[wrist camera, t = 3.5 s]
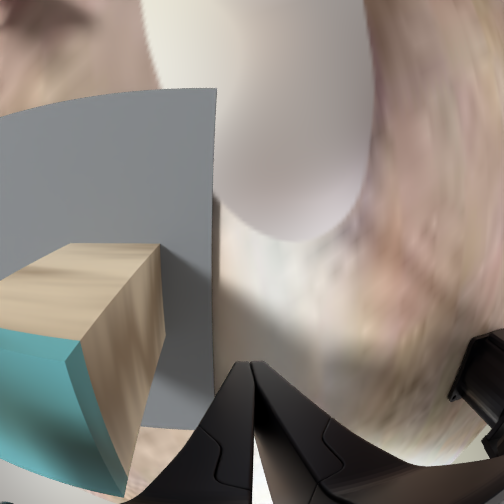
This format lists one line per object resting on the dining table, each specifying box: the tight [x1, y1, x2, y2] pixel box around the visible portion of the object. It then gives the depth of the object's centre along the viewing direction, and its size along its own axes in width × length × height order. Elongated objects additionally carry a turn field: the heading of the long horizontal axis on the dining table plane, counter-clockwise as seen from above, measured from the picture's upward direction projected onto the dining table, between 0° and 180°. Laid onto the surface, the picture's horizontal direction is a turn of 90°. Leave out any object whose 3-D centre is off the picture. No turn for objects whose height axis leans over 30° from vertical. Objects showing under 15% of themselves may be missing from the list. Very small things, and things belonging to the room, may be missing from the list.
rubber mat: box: [0, 88, 217, 430], centre depth 14 cm, size 20×22×1 cm
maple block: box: [0, 243, 166, 498], centre depth 10 cm, size 5×5×10 cm
